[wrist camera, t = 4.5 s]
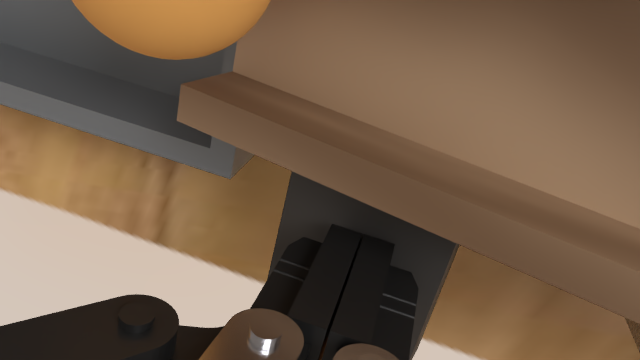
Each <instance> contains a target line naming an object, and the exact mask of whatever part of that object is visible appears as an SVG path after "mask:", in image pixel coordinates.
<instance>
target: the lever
mask: <svg viewBox="0 0 640 360" xmlns="http://www.w3.org/2000/svg"><path fill="white" fill-rule="evenodd" d="M177 121H179V122H181V123H183V124H186V125H188V126H190V127H192V128H195V129H197V130H199V131H201V132H204V133H206V134H208V135H211V136H213V137H215V138H217V139H220V140H222V141H224V142H227V143H229V144H231V145H233V146H236V147H238V148H240V149H242V150H245V151H247V152H249V153H252V154H254V155H256V156H258V157H261V158H263V159H265V160H268V161H270V162H272V163H274V164H277V165H279V166H281V167H284V168H286V169H288V170H290V171H292V173H291V178H290V182H289V186H288V191H287V195H286V200H285V204H284V208H283V213H282V217H281V222H280V226H279V230H278V235H277V239H276V244H275V248H274V252H273V257H272V261H271V266H270V270H269V274H268V278H269V276H270V275H271V273H272V271H274V268H275V266H276V265H277V263H278V261H280V258H281V256H282V255H283V253H284V251H285V250H286V248H287V246H288V245H289V244H291V243H293V242H295V241H297V240H299V239H300V238H302V237H306V238H309V239H312V240H315V241H318V242H321V243H323V241H324V239H325V237H326V235H327V233H328V231H329V229H330V227H331V225H332V224H335V225H338V226H341V227H344V228H347V229H350V230H353V231H357V232H360V233H362V237H361V240H360V243H359V247H358V250H357V253H356V257H357V254H358V251H359V248H360V245H361V243H362V240H363V237H364V234H366V235H369V236H372V237H375V238H378V239H382V240H385V241H388V242H391V243H394V244H395V246H394V250H393V255H392V259H391V263H390V265H391V266H394V267H397V268H400V269H403V270H406V271H409V272H411V273H412V275H413V277H414V279H415V281H416V284H417V286H418V288H419V290H418V297H417V304H416V311H415V317H414V325H413V333H412V340H411V347H410V354H409V360H412V358H413V356H414V354H415V352H416V350H417V348H418V346H419V344H420V341H421V339H422V336H423V334H424V331H425V329H426V326H427V324H428V321H429V319H430V316H431V314H432V311H433V309H434V307H435V304H436V302H437V299H438V297H439V294H440V292H441V289H442V287H443V284H444V282H445V279H446V277H447V274H448V272H449V269H450V267H451V264H452V262H453V260H454V257H455V255H456V252H457V250H458V247H459V245H461V246H464V247H466V248H468V249H470V250H473V251H475V252H477V253H480V254H482V255H484V256H486V257H489V258H491V259H493V260H495V261H498V262H500V263H502V264H505V265H507V266H509V267H511V268H514V269H516V270H518V271H521V272H523V273H525V274H527V275H530V276H532V277H534V278H536V279H539V280H541V281H543V282H546V283H548V284H550V285H552V286H555V287H557V288H559V289H562V290H564V291H566V292H568V293H571V294H573V295H575V296H578V297H580V298H582V299H584V300H587V301H589V302H591V303H593V304H596V305H598V306H600V307H603V308H605V309H607V310H609V311H612V312H614V313H616V314H619V315H621V316H623V317H625V318H628V319H630V320H632V321H634V322H637V323H639V324H640V0H271V1H270V3H269V5H268V7H267V9H266V10H265V12H264V13H263V15H262V16H261V18H260V19H259V20H258V22H257V23H256V24H255V25H254V26H253V27H252V28H251V29H250V30H249V31H248V32H247V33H246V34H245V35H244V36H243V37H241V38H240V39H239V40H238V41H237V47H236V53H235V59H234V65H233V71H232V72H228V73H224V74H220V75H216V76H211V77H207V78H203V79H199V80H195V81H191V82H187V83H183V84H181V88H180V96H179V105H178V113H177ZM356 257H355V259H356ZM354 262H355V260H354ZM353 265H354V263H353ZM352 268H353V267H352ZM351 271H352V270H351ZM350 274H351V273H350ZM267 280H268V279H267Z"/></svg>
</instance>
